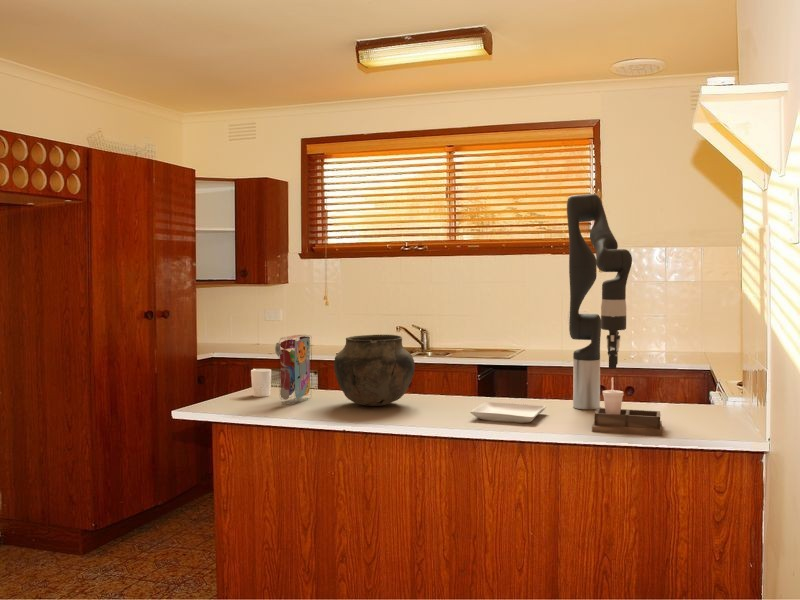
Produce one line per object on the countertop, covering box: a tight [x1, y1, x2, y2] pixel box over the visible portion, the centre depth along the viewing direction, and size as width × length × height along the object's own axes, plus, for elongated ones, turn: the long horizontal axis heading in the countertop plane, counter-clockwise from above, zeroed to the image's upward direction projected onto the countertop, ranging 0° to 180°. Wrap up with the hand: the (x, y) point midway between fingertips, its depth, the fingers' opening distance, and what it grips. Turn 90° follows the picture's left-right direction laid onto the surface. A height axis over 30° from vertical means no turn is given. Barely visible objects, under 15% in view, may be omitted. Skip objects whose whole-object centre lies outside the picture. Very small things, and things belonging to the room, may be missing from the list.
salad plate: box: [469, 401, 547, 424], centre depth 250 cm, size 21×21×3 cm
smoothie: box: [601, 377, 625, 414], centre depth 232 cm, size 6×6×14 cm
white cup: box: [250, 368, 272, 398], centre depth 294 cm, size 8×8×10 cm
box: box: [274, 334, 313, 406], centre depth 277 cm, size 25×6×24 cm, turn 163°
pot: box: [333, 334, 415, 407], centre depth 271 cm, size 29×32×25 cm
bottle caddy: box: [591, 407, 663, 437], centre depth 231 cm, size 15×20×5 cm
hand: (613, 366), depth 232 cm, fingers open, 8 cm apart
